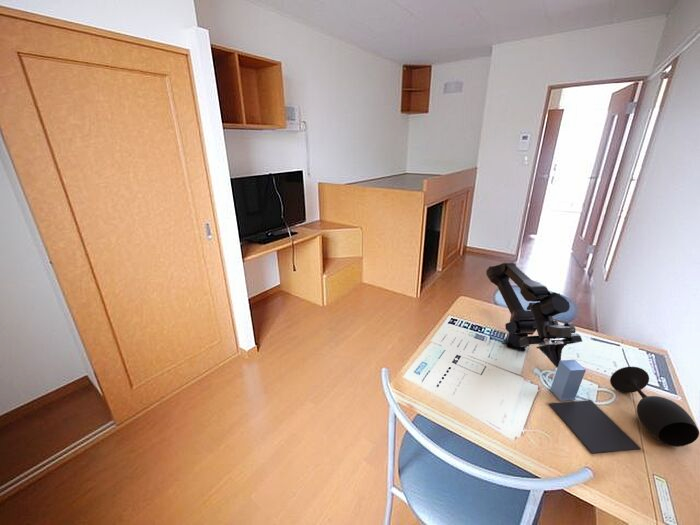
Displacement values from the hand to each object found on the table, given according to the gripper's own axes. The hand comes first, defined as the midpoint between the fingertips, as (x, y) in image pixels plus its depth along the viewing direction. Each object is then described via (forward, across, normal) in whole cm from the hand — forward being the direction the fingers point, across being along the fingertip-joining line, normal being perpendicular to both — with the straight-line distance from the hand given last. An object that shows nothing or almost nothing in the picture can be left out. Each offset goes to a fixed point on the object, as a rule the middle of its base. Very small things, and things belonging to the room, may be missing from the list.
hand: (558, 367), depth 99 cm
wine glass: (+5, +21, -2) cm, 22 cm away
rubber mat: (+16, 0, -6) cm, 17 cm away
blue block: (+8, 0, +2) cm, 8 cm away
